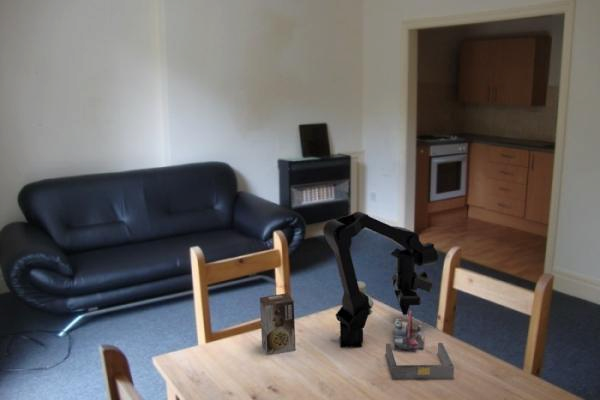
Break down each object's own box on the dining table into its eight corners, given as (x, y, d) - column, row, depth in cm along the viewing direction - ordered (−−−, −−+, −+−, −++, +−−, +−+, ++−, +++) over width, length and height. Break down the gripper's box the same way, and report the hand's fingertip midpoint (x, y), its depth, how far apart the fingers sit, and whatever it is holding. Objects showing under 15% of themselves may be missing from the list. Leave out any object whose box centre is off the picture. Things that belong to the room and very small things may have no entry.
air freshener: (338, 308, 197) (337, 281, 195) (356, 303, 202) (356, 276, 200) (358, 319, 189) (358, 291, 186) (376, 313, 193) (377, 286, 191)
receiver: (392, 380, 152) (393, 368, 151) (385, 354, 166) (385, 343, 165) (453, 379, 151) (454, 368, 151) (441, 353, 165) (442, 342, 164)
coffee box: (289, 341, 175) (288, 292, 171) (296, 350, 169) (294, 300, 165) (261, 346, 172) (259, 296, 168) (266, 355, 166) (264, 305, 162)
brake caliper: (431, 348, 164) (407, 315, 163) (400, 365, 167) (376, 334, 167) (432, 331, 174) (409, 300, 174) (403, 347, 178) (381, 317, 178)
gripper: (438, 279, 167) (436, 327, 171) (425, 258, 185) (424, 302, 189) (400, 279, 167) (399, 327, 171) (391, 258, 186) (390, 302, 189)
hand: (404, 314), depth 180 cm, fingers closed
